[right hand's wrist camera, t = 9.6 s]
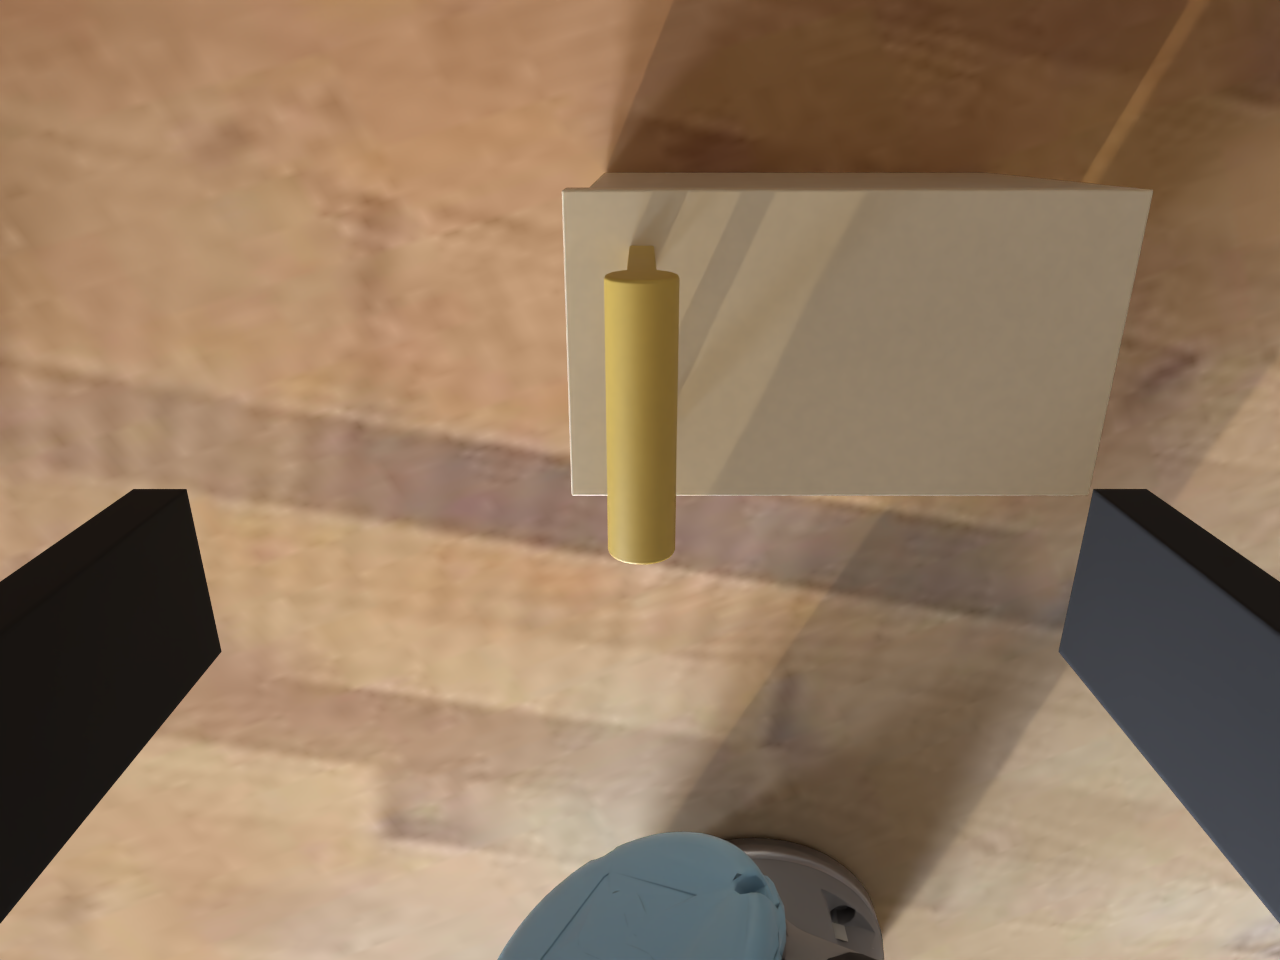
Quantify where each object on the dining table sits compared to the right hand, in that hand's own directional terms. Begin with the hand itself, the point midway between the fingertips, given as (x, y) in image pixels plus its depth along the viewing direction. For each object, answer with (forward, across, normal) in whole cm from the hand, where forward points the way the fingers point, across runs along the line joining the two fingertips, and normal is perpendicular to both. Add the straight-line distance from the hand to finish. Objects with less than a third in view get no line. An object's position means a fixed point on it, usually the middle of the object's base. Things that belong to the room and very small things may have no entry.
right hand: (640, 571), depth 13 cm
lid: (+15, -6, 0) cm, 16 cm away
